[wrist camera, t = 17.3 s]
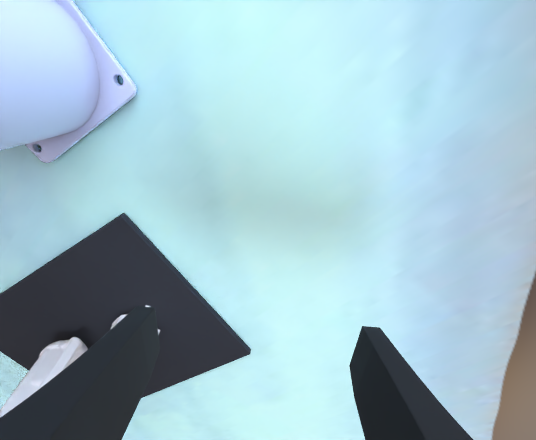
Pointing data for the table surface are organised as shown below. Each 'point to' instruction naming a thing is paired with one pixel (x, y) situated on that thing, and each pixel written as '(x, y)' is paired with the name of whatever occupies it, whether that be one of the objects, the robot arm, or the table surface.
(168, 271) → the placemat
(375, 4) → the table surface
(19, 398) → the shaker set
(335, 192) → the table surface
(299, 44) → the table surface
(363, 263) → the table surface
